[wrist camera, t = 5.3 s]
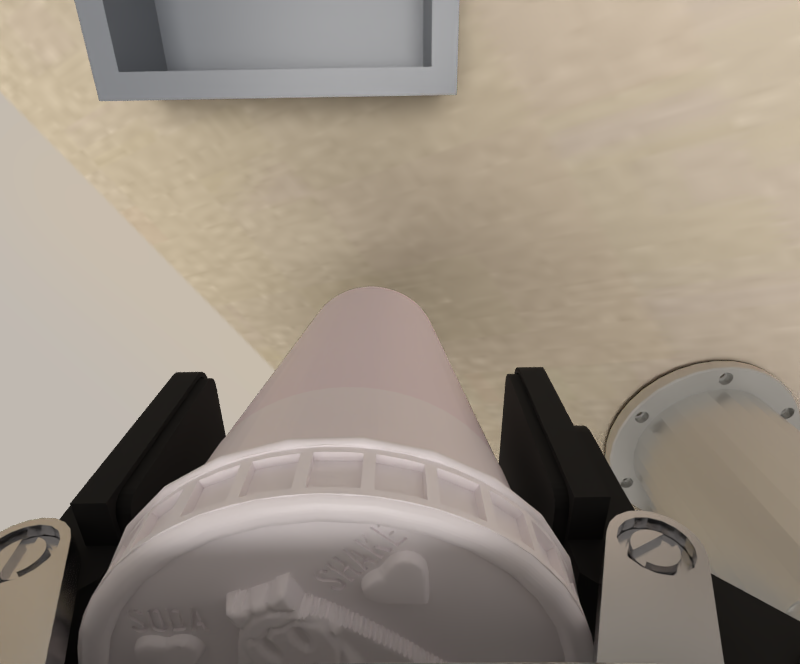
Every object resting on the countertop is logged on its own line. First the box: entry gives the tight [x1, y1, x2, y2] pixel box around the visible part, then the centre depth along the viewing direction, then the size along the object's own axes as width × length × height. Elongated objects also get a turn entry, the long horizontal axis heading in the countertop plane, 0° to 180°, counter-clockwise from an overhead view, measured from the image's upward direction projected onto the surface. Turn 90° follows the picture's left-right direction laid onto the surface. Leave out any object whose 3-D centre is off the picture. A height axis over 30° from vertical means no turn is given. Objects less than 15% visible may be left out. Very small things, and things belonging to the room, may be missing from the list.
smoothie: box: [77, 286, 594, 664], centre depth 9 cm, size 6×6×14 cm
